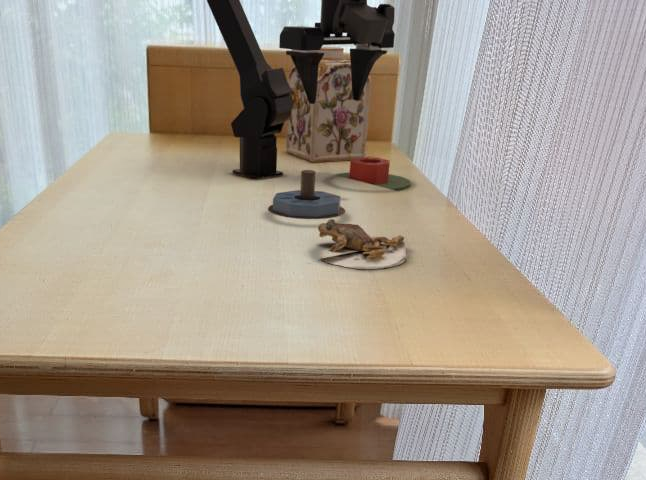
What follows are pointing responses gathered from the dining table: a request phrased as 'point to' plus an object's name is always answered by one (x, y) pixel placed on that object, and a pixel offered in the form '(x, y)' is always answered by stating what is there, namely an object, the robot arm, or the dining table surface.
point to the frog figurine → (362, 247)
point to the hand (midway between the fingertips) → (334, 102)
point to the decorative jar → (328, 113)
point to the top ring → (369, 170)
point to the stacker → (307, 195)
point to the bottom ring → (306, 204)
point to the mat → (392, 184)
